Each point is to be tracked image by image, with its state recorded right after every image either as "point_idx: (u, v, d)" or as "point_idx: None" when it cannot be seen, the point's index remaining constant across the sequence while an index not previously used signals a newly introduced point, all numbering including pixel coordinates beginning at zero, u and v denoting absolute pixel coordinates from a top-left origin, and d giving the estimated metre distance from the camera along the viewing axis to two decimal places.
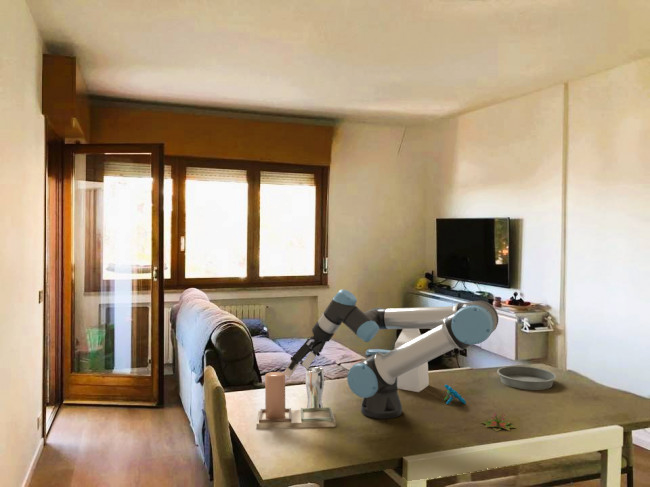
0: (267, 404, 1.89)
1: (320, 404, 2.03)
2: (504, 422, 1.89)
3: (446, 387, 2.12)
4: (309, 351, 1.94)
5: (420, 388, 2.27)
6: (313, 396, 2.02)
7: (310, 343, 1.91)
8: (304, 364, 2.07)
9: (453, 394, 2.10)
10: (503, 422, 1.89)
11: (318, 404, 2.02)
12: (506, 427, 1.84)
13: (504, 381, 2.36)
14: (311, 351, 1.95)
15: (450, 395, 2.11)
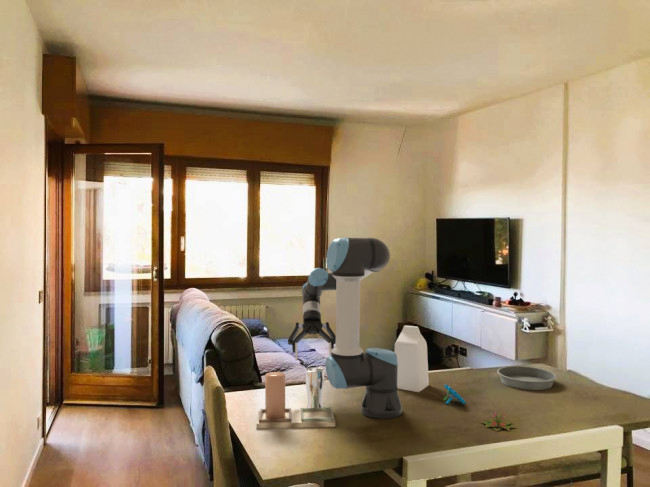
0: (267, 404, 1.89)
1: (320, 404, 2.03)
2: (504, 422, 1.89)
3: (446, 387, 2.12)
4: (303, 332, 2.21)
5: (420, 388, 2.27)
6: (313, 396, 2.02)
7: None
8: None
9: (453, 394, 2.10)
10: (503, 422, 1.89)
11: (318, 404, 2.02)
12: (506, 427, 1.84)
13: (504, 381, 2.36)
14: (304, 331, 2.21)
15: (450, 395, 2.11)
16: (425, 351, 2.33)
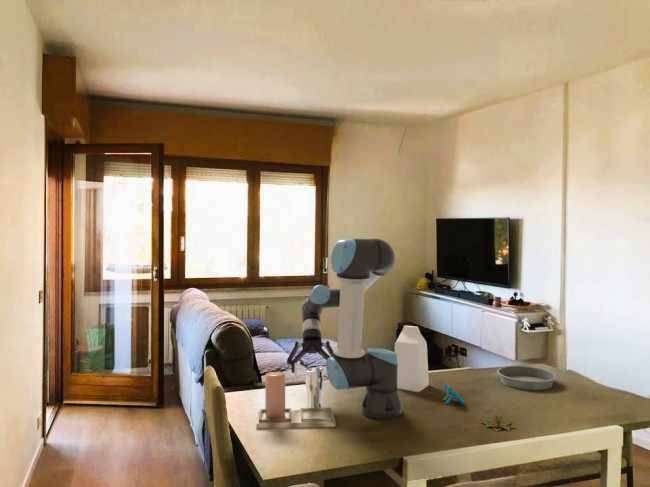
0: (267, 404, 1.89)
1: (320, 404, 2.03)
2: (504, 422, 1.89)
3: (445, 387, 2.12)
4: (302, 351, 2.14)
5: (420, 388, 2.27)
6: (313, 396, 2.02)
7: (295, 343, 2.17)
8: None
9: (452, 394, 2.10)
10: (503, 422, 1.89)
11: (318, 404, 2.02)
12: (506, 427, 1.84)
13: (504, 381, 2.36)
14: (304, 350, 2.14)
15: (449, 395, 2.11)
16: (425, 351, 2.33)
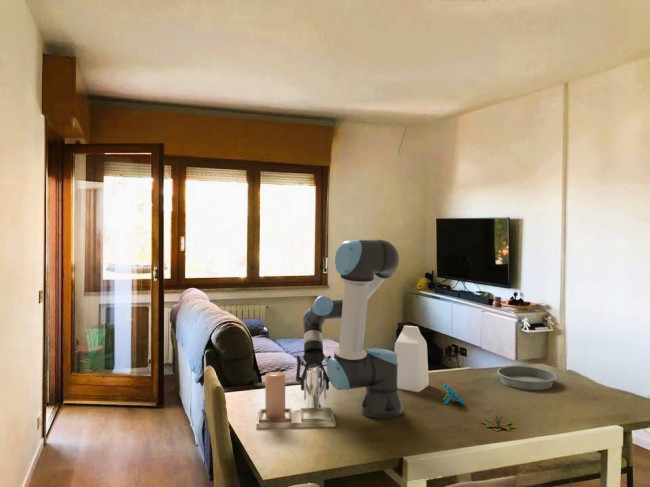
0: (267, 404, 1.89)
1: (320, 404, 2.03)
2: (504, 422, 1.89)
3: (445, 387, 2.12)
4: (307, 365, 2.08)
5: (420, 388, 2.27)
6: (313, 396, 2.01)
7: None
8: (324, 396, 2.02)
9: (451, 394, 2.10)
10: (503, 422, 1.89)
11: (318, 404, 2.02)
12: (506, 427, 1.84)
13: (504, 381, 2.36)
14: (309, 364, 2.08)
15: (449, 395, 2.11)
16: (425, 351, 2.33)
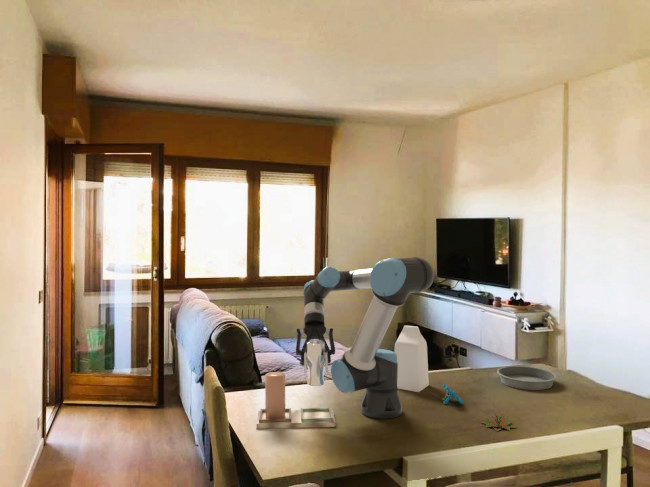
0: (267, 404, 1.89)
1: (321, 378, 1.91)
2: (504, 422, 1.89)
3: (444, 387, 2.12)
4: (307, 338, 1.97)
5: (420, 388, 2.27)
6: (314, 370, 1.90)
7: None
8: None
9: (450, 394, 2.10)
10: (503, 422, 1.89)
11: (319, 378, 1.90)
12: (506, 427, 1.84)
13: (504, 381, 2.36)
14: (309, 336, 1.97)
15: (448, 395, 2.11)
16: (425, 351, 2.33)
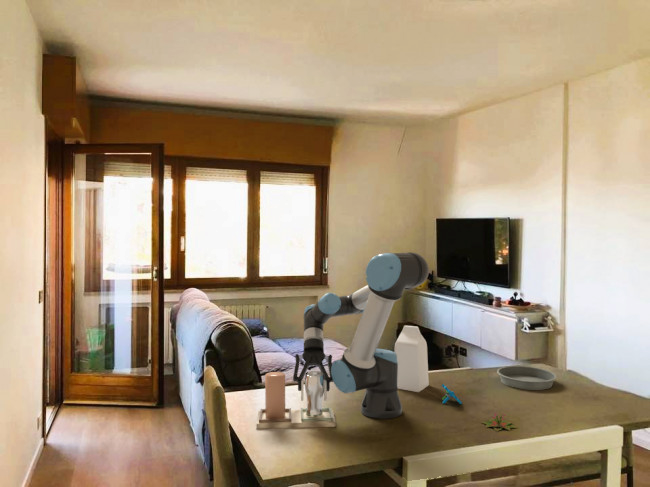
0: (267, 404, 1.89)
1: (320, 410, 1.91)
2: (505, 422, 1.89)
3: None
4: (306, 365, 1.97)
5: (420, 388, 2.27)
6: (312, 402, 1.90)
7: (295, 357, 1.99)
8: (324, 397, 1.90)
9: (449, 394, 2.10)
10: (504, 422, 1.89)
11: (317, 410, 1.91)
12: (507, 427, 1.84)
13: (504, 381, 2.36)
14: (308, 363, 1.97)
15: (447, 395, 2.11)
16: (425, 351, 2.33)
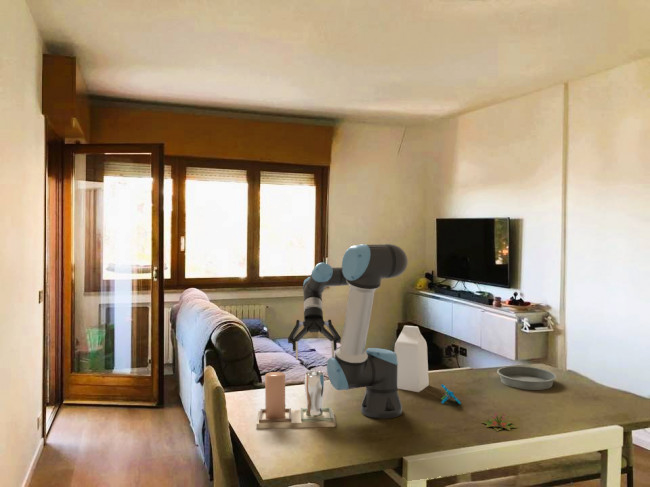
0: (267, 404, 1.89)
1: (320, 410, 1.91)
2: (505, 422, 1.89)
3: None
4: (304, 329, 2.09)
5: (420, 388, 2.27)
6: (312, 402, 1.90)
7: (296, 322, 2.12)
8: (332, 356, 2.04)
9: (448, 394, 2.10)
10: (504, 422, 1.89)
11: (317, 410, 1.91)
12: (507, 427, 1.84)
13: (504, 381, 2.36)
14: (305, 329, 2.09)
15: (446, 395, 2.11)
16: (425, 351, 2.33)
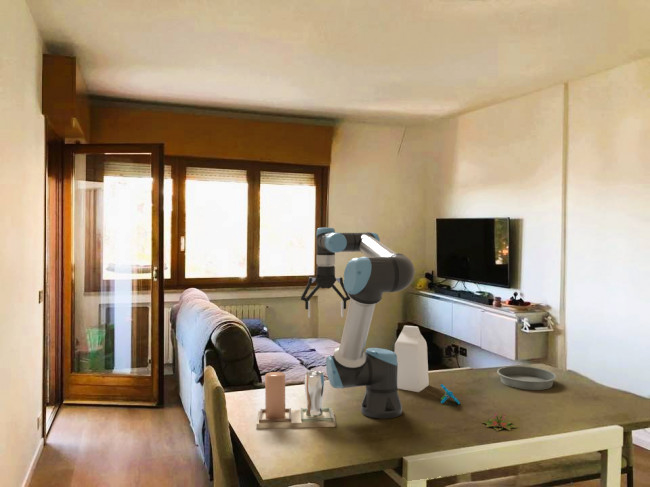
0: (267, 404, 1.89)
1: (320, 410, 1.91)
2: (505, 422, 1.89)
3: (442, 386, 2.13)
4: (316, 289, 2.20)
5: (420, 388, 2.27)
6: (312, 402, 1.90)
7: (309, 279, 2.20)
8: (341, 315, 2.22)
9: (448, 394, 2.10)
10: (504, 422, 1.89)
11: (317, 410, 1.91)
12: (507, 427, 1.84)
13: (504, 381, 2.36)
14: None
15: (445, 395, 2.11)
16: (425, 351, 2.33)
